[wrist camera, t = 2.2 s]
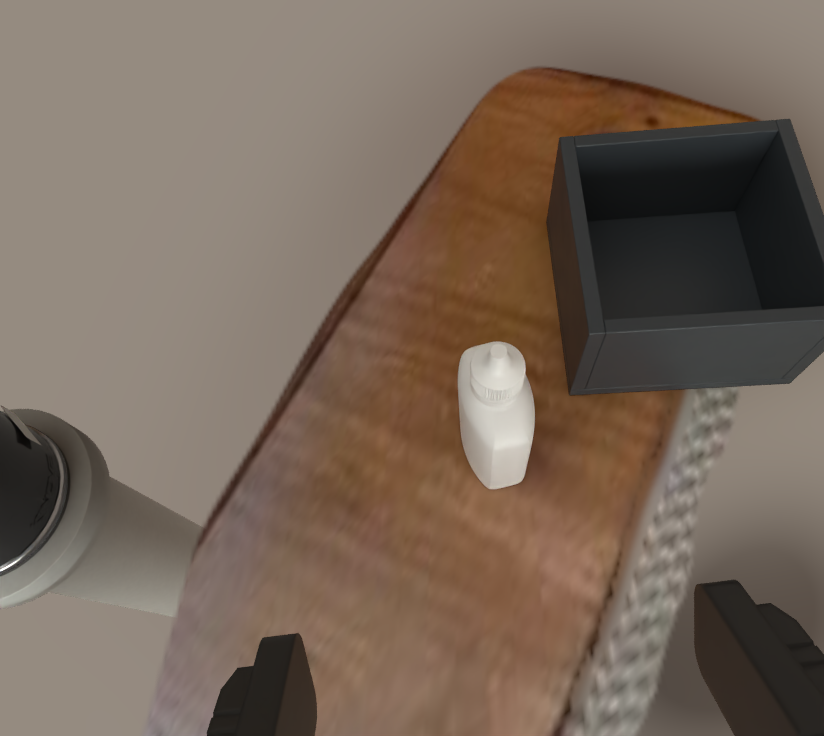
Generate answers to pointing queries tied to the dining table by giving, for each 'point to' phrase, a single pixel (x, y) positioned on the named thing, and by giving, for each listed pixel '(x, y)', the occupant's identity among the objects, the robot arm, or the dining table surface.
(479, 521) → the dining table surface
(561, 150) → the bin
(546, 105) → the dining table surface
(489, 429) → the eye dropper bottle
